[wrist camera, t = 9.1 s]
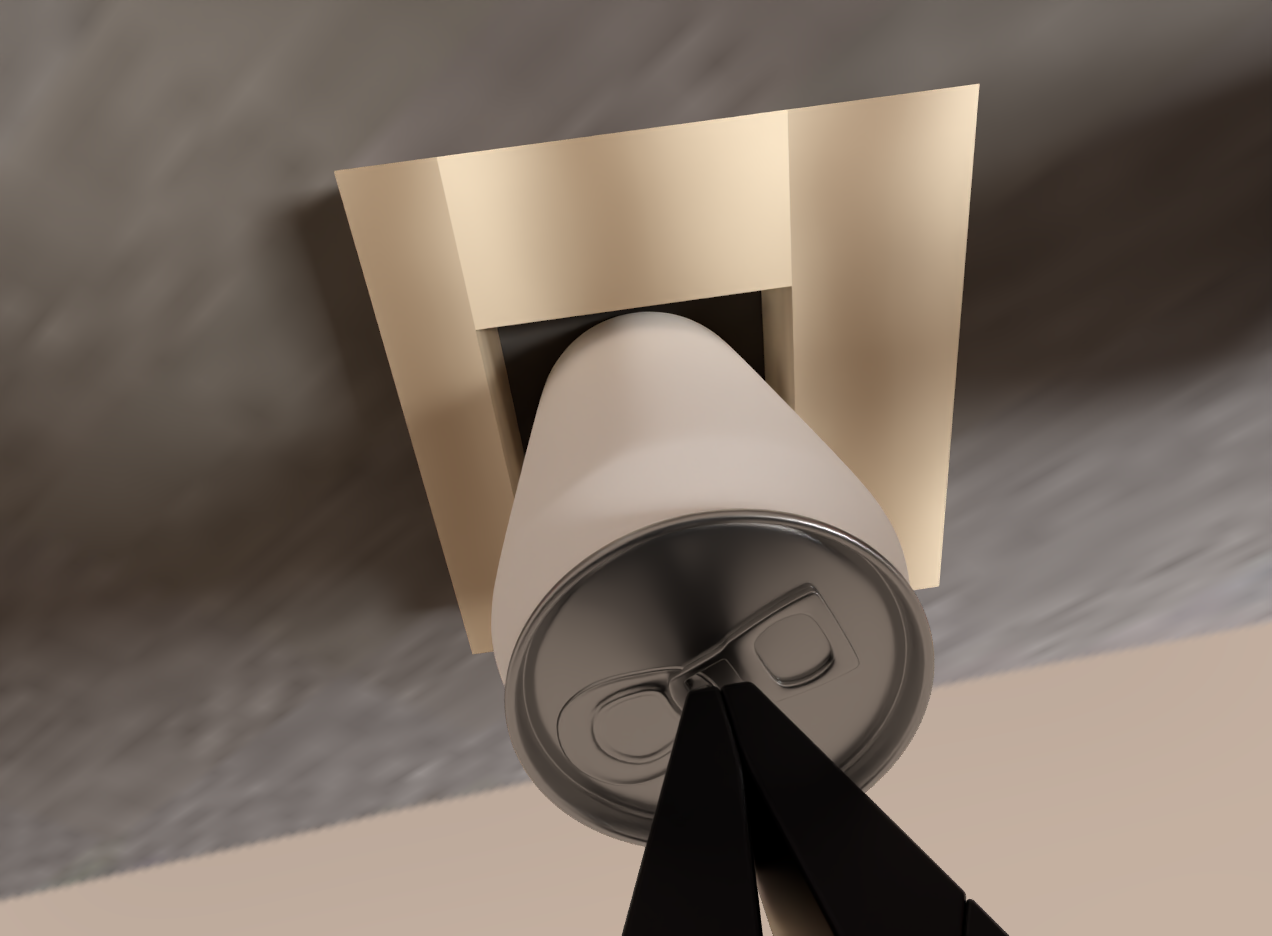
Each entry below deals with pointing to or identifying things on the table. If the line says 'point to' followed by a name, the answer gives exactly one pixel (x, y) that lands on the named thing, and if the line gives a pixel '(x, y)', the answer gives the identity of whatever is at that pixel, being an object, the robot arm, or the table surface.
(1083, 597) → the table surface
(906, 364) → the frame
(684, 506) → the can
